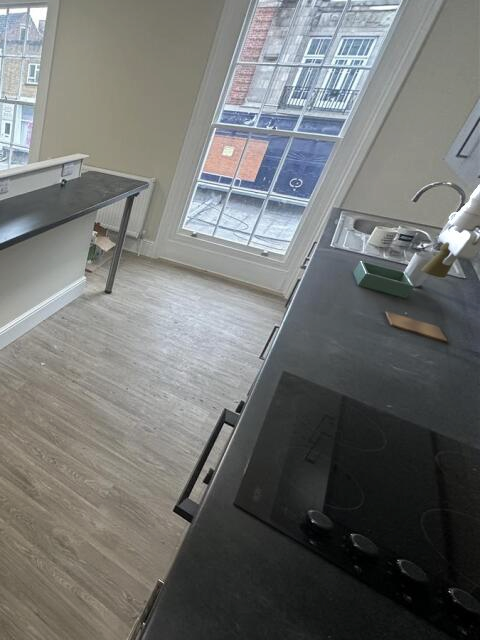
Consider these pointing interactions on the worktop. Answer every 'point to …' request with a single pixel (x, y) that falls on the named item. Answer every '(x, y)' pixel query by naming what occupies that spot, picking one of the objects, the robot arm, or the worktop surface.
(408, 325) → the mat
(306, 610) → the worktop surface
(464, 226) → the robot arm
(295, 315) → the worktop surface
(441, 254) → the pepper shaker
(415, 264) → the cup
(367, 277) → the basin
